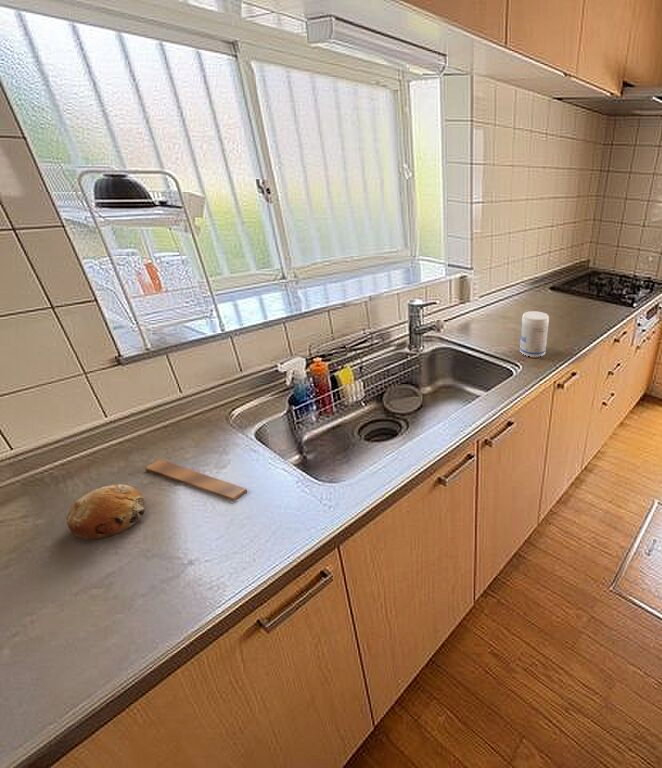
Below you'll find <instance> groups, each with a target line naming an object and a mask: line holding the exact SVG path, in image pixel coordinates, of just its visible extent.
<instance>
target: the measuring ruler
mask: <svg viewBox="0 0 662 768" xmlns="http://www.w3.org/2000/svg"><path fill="white" fill-rule="evenodd" d="M144 469H145V470H146V471H149V472H151V473H154V474H157V475H160V476H162V477H165V478H168V479H171V480H174V481H177V482H179V483H182V484H185V485H187V486H191V487H194V488H196V489H199V490H202V491H205V492H208V493H210V494H214V495H217V496H218V497H222V498H225V499H227V500H230V501H233V502H234V501H236V500H237V499H238V498H240V497H241V496H242V495H243V494H245V493H246V492H248V489H247V488H245V487H243V486H240V485H236V484H234V483H230V482H228V481H224V480H222V479H218V478H216V477H213V476H210V475H207V474H204V473H201V472H199V471H195V470H192V469H190V468H186V467H184V466H181V465H177V464H174V463H171V462H168V461H165V460H163V459H157V460H156V461H153V463H151V464H148V465H147V466H145V467H144Z"/></svg>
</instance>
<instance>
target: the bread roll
mask: <svg viewBox="0 0 662 768" xmlns="http://www.w3.org/2000/svg"><path fill="white" fill-rule="evenodd" d="M145 510H146V498H145V497H144V496H143V494H142V493H141V492H140V491H139V490H138V489H136V488H135V487H133V486H131V485H127V484H123V483H122V484H120V483H119V484H111V485H105V486H102V487H99V488H96V489H93V490H92V491H89V492H88V493H86V494H85V495H83V496H81V497H80V498H78V499H77V500H76V501H75V502H73V504H72V505H71V508H70V509H69V512H68V514H67V517H66V525H67V527H68V529H69V530H70V532H71V533H72V534H73V535H75V536H76V537H78V538H82V539H85V540H99V539H104V538H109V537H113V536H115V535H118V534H119V533H122V532H124V531H126V530H128V528H130V527H132V526H134V525H135V524H136V523H137V522H139V521H140V520H141V519H142V517H143V515H144V514H145Z"/></svg>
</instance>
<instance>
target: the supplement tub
mask: <svg viewBox="0 0 662 768" xmlns="http://www.w3.org/2000/svg"><path fill="white" fill-rule="evenodd" d="M549 323H550V316H549V315H548V313H545V312H544V311H543V312H542V311H536V310H534V311H533V310H530V311H525V312H524V313H523V314H522V317H521V326H520V327H521V329H520V341H519V353H520V352H521V353H522V354H521V353H520V354H521V355H522V356H524V357H527V358H532V359H533V358H542V357H543V356H545V354H546V352H547V351H546V350H547V344H548V343H547V341H548V331H549ZM523 354H524V355H523ZM525 355H526V356H525ZM528 356H530V357H528ZM540 356H541V357H540Z"/></svg>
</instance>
